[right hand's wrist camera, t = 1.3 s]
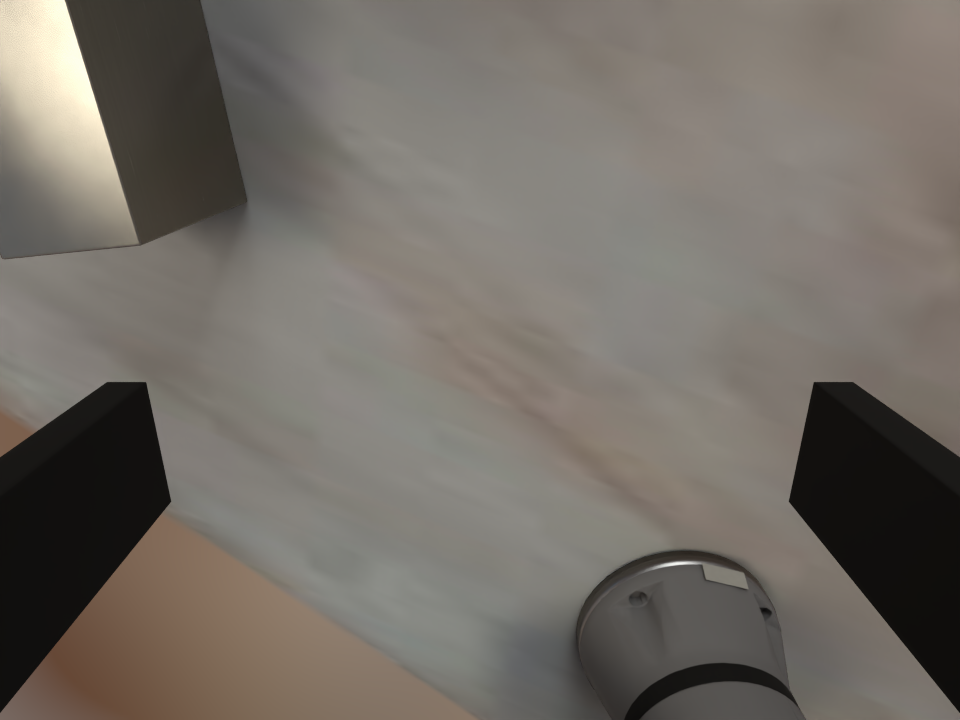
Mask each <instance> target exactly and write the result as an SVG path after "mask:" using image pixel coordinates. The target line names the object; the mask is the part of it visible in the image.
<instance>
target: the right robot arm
mask: <svg viewBox="0 0 960 720" xmlns="http://www.w3.org/2000/svg"><path fill="white" fill-rule="evenodd" d="M170 502H171V499H170V494H169V489H168V484H167V480H166V475H165V470H164V465H163V461H162V456H161V451H160V446H159V441H158V437H157V432H156V427H155V422H154V418H153V413H152V408H151V403H150V399H149V394H148V389H147V384H146V382H107V383H105V384H104V385H102V386H101V387H100V388H98V389H97V390H95V391H94V392H92V393H91V394H90V395H88V396H87V397H85V398H84V399H82V400H81V401H80V402H78V403H77V404H75V405H74V406H73V407H71V408H70V409H68V410H67V411H65V412H64V413H63V414H61V415H60V416H58V417H57V418H55V419H54V420H53V421H51V422H50V423H48V424H47V425H46V426H44V427H43V428H41V429H40V430H38V431H37V432H36V433H34V434H33V435H31V436H30V437H28V438H27V439H26V440H24V441H23V442H21V443H20V444H19V445H17V446H16V447H14V448H13V449H11V450H10V451H9V452H7V453H6V454H4V455H3V456H1V457H0V712H1V711H2V710H3V709H4V707H5V706H6V705H7V704H8V703H9V701H10V700H11V699H12V698H13V696H14V695H15V694H16V693H17V691H18V690H19V689H20V688H21V686H22V685H23V684H24V683H25V682H26V680H27V679H28V678H29V677H30V675H31V674H32V673H33V672H34V670H35V669H36V668H37V667H38V666H39V664H40V663H41V662H42V661H43V659H44V658H45V657H46V656H47V654H48V653H49V652H50V651H51V649H52V648H53V647H54V646H55V644H56V643H57V642H58V641H59V640H60V638H61V637H62V636H63V635H64V633H65V632H66V631H67V630H68V628H69V627H70V626H71V625H72V623H73V622H74V621H75V620H76V619H77V617H78V616H79V615H80V614H81V612H82V611H83V610H84V609H85V607H86V606H87V605H88V604H89V602H90V601H91V600H92V599H93V598H94V596H95V595H96V594H97V593H98V591H99V590H100V589H101V588H102V586H103V585H104V584H105V583H106V581H107V580H108V579H109V578H110V577H111V575H112V574H113V573H114V572H115V570H116V569H117V568H118V567H119V565H120V564H121V563H122V562H123V560H124V559H125V558H126V557H127V556H128V554H129V553H130V552H131V550H132V549H133V548H134V547H135V546H136V544H137V543H138V542H139V541H140V539H141V538H142V537H143V536H144V534H145V533H146V532H147V531H148V530H149V528H150V527H151V526H152V525H153V523H154V522H155V521H156V520H157V518H158V517H159V516H160V515H161V513H162V512H163V511H164V510H165V509H166V507H167V506H168V505H169V504H170ZM789 502H790V504H791V505H792V506H793V507H794V509H795V510H796V511H797V512H798V513H799V515H800V516H801V517H802V518H803V520H804V521H805V522H806V523H807V525H808V526H809V527H810V528H811V530H812V531H813V532H814V533H815V534H816V536H817V537H818V538H819V539H820V541H821V542H822V543H823V544H824V546H825V547H826V548H827V549H828V551H829V552H830V553H831V554H832V556H833V557H834V558H835V559H836V560H837V562H838V563H839V564H840V565H841V567H842V568H843V569H844V570H845V572H846V573H847V574H848V575H849V577H850V578H851V579H852V580H853V581H854V583H855V584H856V585H857V586H858V588H859V589H860V590H861V591H862V593H863V594H864V595H865V596H866V598H867V599H868V600H869V601H870V602H871V604H872V605H873V606H874V607H875V609H876V610H877V611H878V612H879V614H880V615H881V616H882V617H883V619H884V620H885V621H886V622H887V623H888V625H889V626H890V627H891V628H892V630H893V631H894V632H895V633H896V635H897V636H898V637H899V638H900V640H901V641H902V642H903V643H904V644H905V646H906V647H907V648H908V649H909V651H910V652H911V653H912V654H913V656H914V657H915V658H916V659H917V661H918V662H919V663H920V664H921V666H922V667H923V668H924V669H925V670H926V672H927V673H928V674H929V675H930V677H931V678H932V679H933V680H934V682H935V683H936V684H937V685H938V687H939V688H940V689H941V690H942V691H943V693H944V694H945V695H946V696H947V698H948V699H949V700H950V701H951V703H952V704H953V705H954V706H955V708H956V709H957V710H958V711H959V712H960V457H959V456H957V455H956V454H954V453H953V452H951V451H950V450H949V449H947V448H946V447H944V446H943V445H941V444H940V443H939V442H937V441H936V440H934V439H933V438H932V437H930V436H929V435H927V434H926V433H924V432H923V431H922V430H920V429H919V428H917V427H916V426H914V425H913V424H912V423H910V422H909V421H907V420H906V419H905V418H903V417H902V416H900V415H899V414H897V413H896V412H895V411H893V410H892V409H890V408H889V407H887V406H886V405H885V404H883V403H882V402H880V401H879V400H878V399H876V398H875V397H873V396H872V395H870V394H869V393H868V392H866V391H865V390H863V389H862V388H860V387H859V386H858V385H856V384H855V383H853V382H814V384H813V389H812V394H811V399H810V403H809V408H808V413H807V418H806V422H805V427H804V432H803V437H802V441H801V446H800V451H799V456H798V460H797V465H796V470H795V475H794V480H793V484H792V489H791V494H790V499H789ZM577 643H578V649H579V654H580V660H581V663H582V666H583V669H584V671H585V673H586V676H587V678H588V680H589V682H590V684H591V685H592V687H593V689H594V690H595V691H596V693H597V695H598V697H599V698H600V700H601V702H602V703H603V705H604V707H605V709H606V710H607V712H608V714H609V715H610V717H611V719H612V720H806V719H805V717H804V715H803V714H802V712H801V710H800V708H799V706H798V705H797V703H796V701H795V699H794V697H793V695H792V693H791V691H790V688H789V682H788V675H787V669H786V662H785V655H784V649H783V642H782V635H781V629H780V624H779V621H778V618H777V615H776V611H775V609H774V607H773V604H772V603H771V601H770V599H769V598H768V596H767V594H766V593H765V591H764V589H763V588H762V586H761V584H760V583H759V582H758V580H757V579H756V578H755V577H754V576H753V575H752V574H751V573H750V572H749V571H747V570H746V569H745V568H743V567H742V566H740V565H739V564H737V563H735V562H733V561H731V560H729V559H726V558H724V557H721V556H718V555H714V554H710V553H704V552H697V551H672V552H665V553H659V554H655V555H651V556H647V557H644V558H641V559H639V560H636V561H633V562H631V563H629V564H627V565H625V566H623V567H621V568H620V569H618V570H616V571H615V572H613V573H612V574H611V575H609V576H608V577H607V578H606V579H604V580H603V581H602V582H601V583H600V584H599V585H598V586H597V587H596V588H595V589H594V590H593V592H592V593H591V594H590V595H589V597H588V599H587V600H586V602H585V603H584V606H583V608H582V610H581V612H580V615H579V619H578V623H577Z"/></svg>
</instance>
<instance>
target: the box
mask: <svg viewBox="0 0 960 720" xmlns="http://www.w3.org/2000/svg"><path fill="white" fill-rule="evenodd" d="M246 202H247V198H246V194H245V190H244V185H243V181H242V177H241V173H240V168H239V164H238V160H237V156H236V151H235V147H234V143H233V139H232V134H231V130H230V126H229V122H228V117H227V113H226V109H225V105H224V100H223V96H222V92H221V88H220V83H219V79H218V75H217V71H216V67H215V62H214V58H213V54H212V50H211V45H210V41H209V37H208V33H207V28H206V24H205V20H204V16H203V11H202V7H201V3H200V0H0V255H1V257H2V259H12V258H22V257H32V256H41V255H51V254H61V253H71V252H81V251H90V250H100V249H110V248H120V247H130V246H139V245H143V244H145V243H148V242H150V241H153V240H155V239H158V238H160V237H162V236H165V235H167V234H170V233H172V232H175V231H177V230H180V229H182V228H184V227H187V226H189V225H192V224H194V223H197V222H199V221H202V220H204V219H207V218H209V217H211V216H214V215H216V214H219V213H221V212H224V211H226V210H229V209H231V208H234V207H236V206H238V205H241V204H243V203H246Z"/></svg>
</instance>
